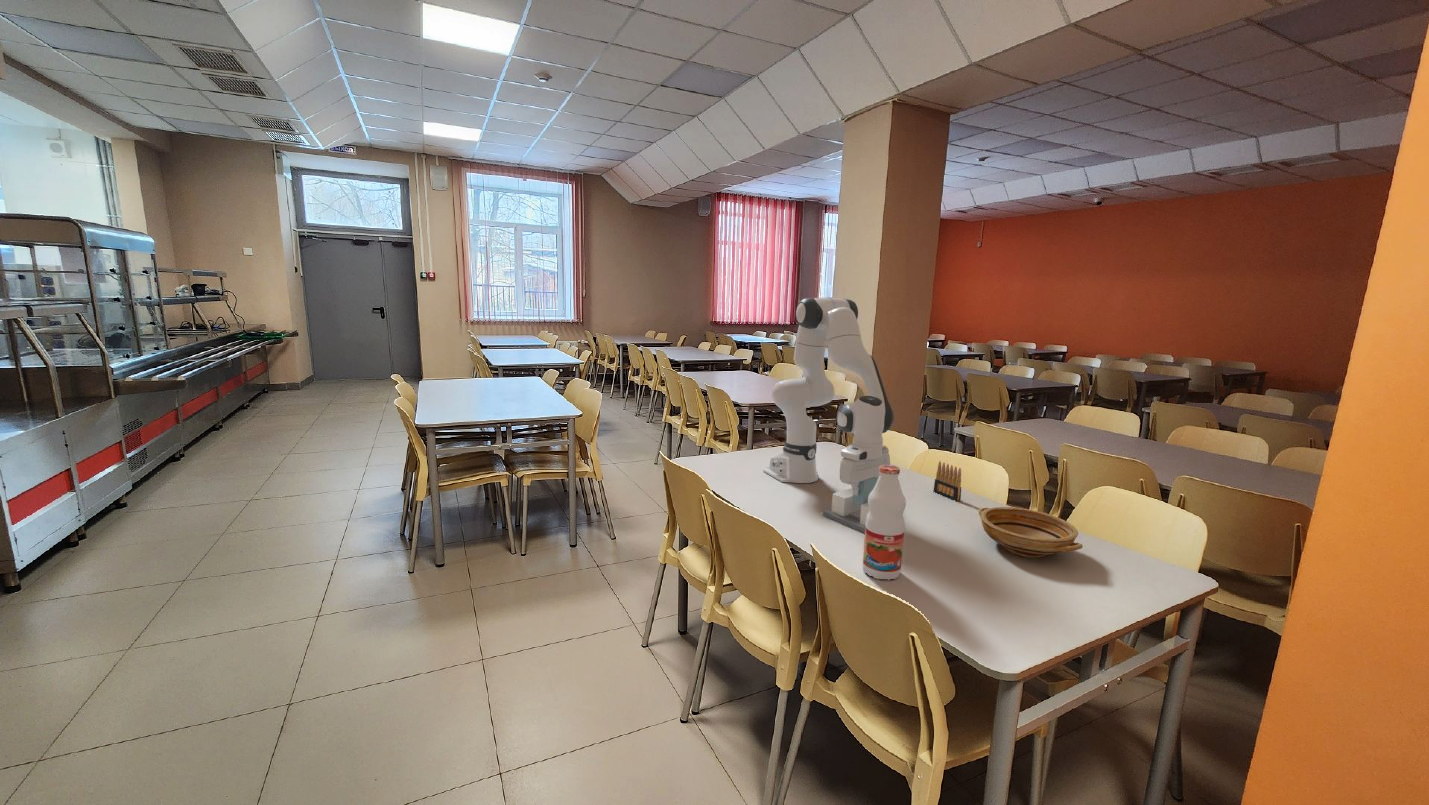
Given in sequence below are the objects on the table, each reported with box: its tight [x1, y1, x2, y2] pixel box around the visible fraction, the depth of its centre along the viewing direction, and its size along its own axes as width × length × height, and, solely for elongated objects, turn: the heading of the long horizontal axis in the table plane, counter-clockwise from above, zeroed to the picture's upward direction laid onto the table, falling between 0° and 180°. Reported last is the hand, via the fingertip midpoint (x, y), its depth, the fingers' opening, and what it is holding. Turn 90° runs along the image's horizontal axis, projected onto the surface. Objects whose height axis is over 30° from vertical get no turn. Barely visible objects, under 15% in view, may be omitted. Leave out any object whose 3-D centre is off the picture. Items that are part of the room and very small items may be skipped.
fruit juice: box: [862, 464, 907, 581], centre depth 141 cm, size 9×9×28 cm
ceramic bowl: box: [978, 506, 1083, 558], centre depth 159 cm, size 30×24×8 cm
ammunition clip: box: [933, 460, 962, 503], centre depth 200 cm, size 11×2×12 cm, turn 25°
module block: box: [853, 477, 877, 505], centre depth 175 cm, size 4×6×8 cm, turn 126°
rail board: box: [822, 487, 869, 534], centre depth 177 cm, size 20×14×8 cm
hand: (864, 492), depth 175 cm, fingers closed on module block, 6 cm apart
